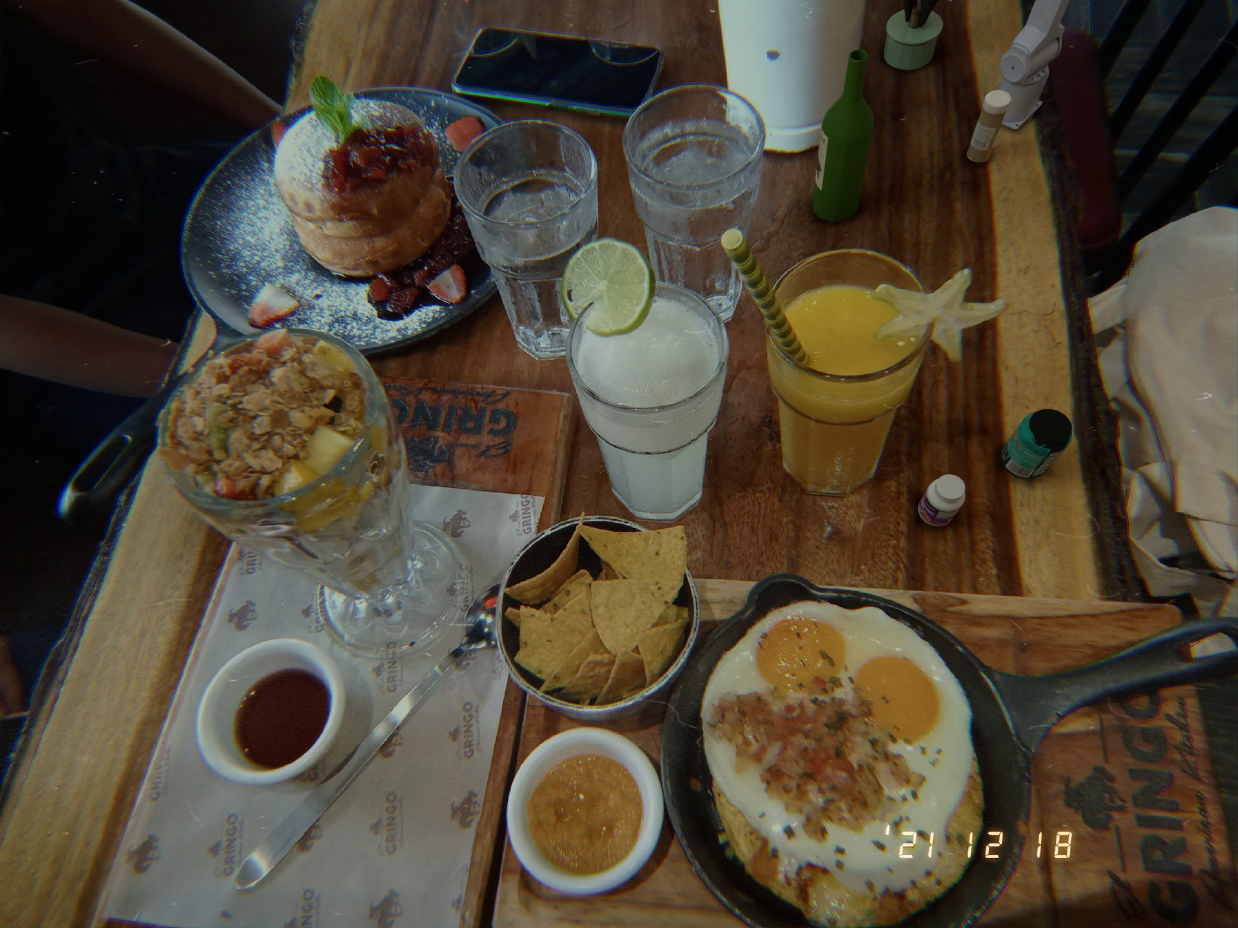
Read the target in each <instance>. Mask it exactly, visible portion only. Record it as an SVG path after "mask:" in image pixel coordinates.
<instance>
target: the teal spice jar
mask: <svg viewBox="0 0 1238 928" xmlns="http://www.w3.org/2000/svg"><path fill="white" fill-rule="evenodd" d="M1072 440H1073V424H1072V422H1071V420H1070V418H1069V417H1068V416H1067V415H1066V414H1064V413H1063V412H1061V411H1059V410H1057V409H1052V408H1043V409H1039V410H1037V411H1033V412H1030V413H1028V414H1027V415H1026V416H1025V417H1024V418H1023V419H1022V420H1021V422H1020V423H1019V424H1018V426H1017V428H1016V429H1015V431H1013V433H1012V434H1011V436H1010V437H1009V439H1008V440H1007V442H1006V443H1005V444H1004V446H1003V448H1002V449H1001V451H1000V462H1001V465H1002V466H1003V468H1004V469H1005V470H1006V471H1007V472H1008V473H1009V474H1011V476H1014V477H1016V478H1017V479H1018V478H1019V479H1022V480H1033V479H1037V478H1039V477H1041V476H1043V475H1044V474H1045V473H1046V472H1047V471H1048V470H1049V468H1050V467H1051V466H1052V465H1053V464H1054V462H1056V460H1057V459H1058V458H1059V457H1060V455H1062V453H1064V451H1065V450H1066V449H1067V448H1068V447H1069V445H1070V444H1071V442H1072Z"/></svg>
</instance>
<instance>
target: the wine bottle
mask: <svg viewBox="0 0 1238 928" xmlns="http://www.w3.org/2000/svg"><path fill="white" fill-rule="evenodd" d="M868 58H869V53H868V52H867V51H866V50H864V49H854V50H852V51H851V52H850V53H849V54H848V60H847V67H846V73H845V79H844V80H845V81H844V85H843V91H842V94H841V96H840V97H839V98H838V99H837V100H836V101H835V102H834V103H832V105H831V106H830V107H829V108H828V110H827V111H826V112H825V114H824V117H823V120H822V122H821V127H820V136H819V143H818V144H819V145H818V152H817V161H816V168H815V169H816V171H815V180H814V188H813V198H812V210H813V212H814V214H815V215H816V216H817V217H818V218H819V219H820V220H822V221H829V222H842V221H846V220H847V219H850V218H851V217H853V216H854V215H855V214H856V213H857V211H858V210H859V205H860V202H861V195H862V190H863V186H864V185H863V184H864V179H865V174H866V170H867V164H868V159H869V154H870V148H871V143H872V139H873V132H874V129H875V121H874V117H875V116H874V113H873V111H872V109H871V108H870V106H869V104H868V103H867V101H866V99H865V98H864V97H863V91H864V84H865V77H866V70H867V64H868Z"/></svg>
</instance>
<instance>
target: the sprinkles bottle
mask: <svg viewBox="0 0 1238 928" xmlns="http://www.w3.org/2000/svg"><path fill="white" fill-rule="evenodd" d="M1010 103H1011V96H1010V94H1009V93H1007V92H1005V91H1002V90H998V89H995V90H992V91H989V92H987V94H986V95H985V97H984V99H983V102H982V107H981V111H980V114H979V117H978V120H977V121H976V125H975V127H974V131H973V134H972V137H971V140H970V145H969V147H968V150H967V151H966V157H967V158H968V160H970V161H972V162H973V163H985V162H987V161H988V160H989V159H990V158H991V155H992V152H993V149H994V146H995V144H996V142H997V139H998V136H999V133H1000V129H1001V127H1002V122H1003V119H1004V116H1005V113H1006V111H1007V110H1008V108H1009V106H1010Z"/></svg>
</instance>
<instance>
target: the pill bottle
mask: <svg viewBox="0 0 1238 928" xmlns="http://www.w3.org/2000/svg"><path fill="white" fill-rule="evenodd" d="M965 500H966V485H965V482H964V481H963V479H962V478H960V477H959V476H958V475H955V474H944V475H942V476H940V477H939V478H937V479H935V480H933V481H932V482H931V483H929V485H928V487H927V489H926V491H925V492H924V494H923V496H922V497H921V499H920V501H919V503H918V507H917V510H918V514H919V516H920V518H921V520H923V522H925V523H926V524H928V525H930V526H933V527H942V526H945V525H948V524H949V523H950V522H951V521H952V520H953V519H954V517H955V516H956V515H957V513H958V512H959V510H960V509H961V508H962V506H963V505H964V503H965Z"/></svg>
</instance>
